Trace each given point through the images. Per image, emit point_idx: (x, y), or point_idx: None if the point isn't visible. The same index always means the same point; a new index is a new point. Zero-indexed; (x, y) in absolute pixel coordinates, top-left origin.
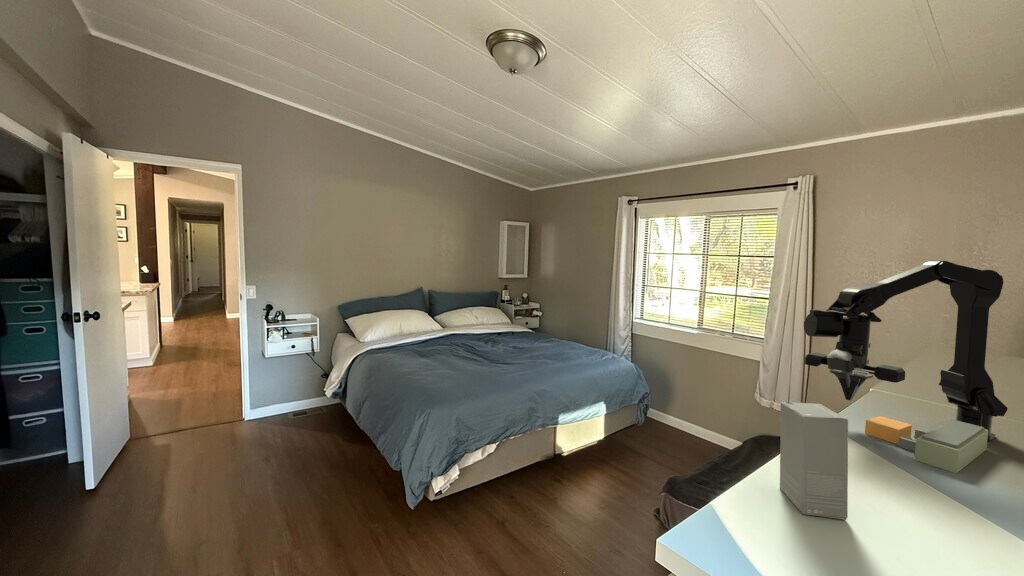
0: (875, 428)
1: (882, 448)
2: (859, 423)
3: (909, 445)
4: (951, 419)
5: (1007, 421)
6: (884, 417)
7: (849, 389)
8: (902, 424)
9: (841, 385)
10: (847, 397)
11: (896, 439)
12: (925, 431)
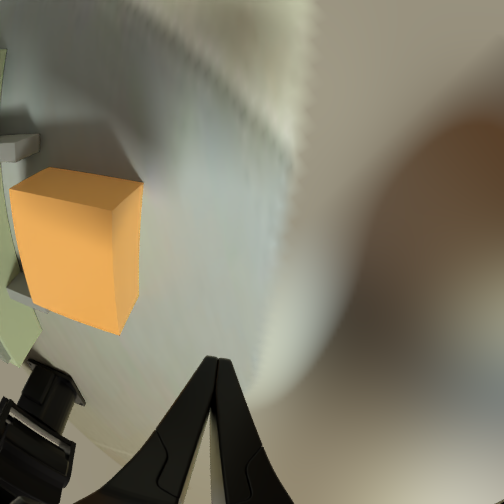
0: (88, 191)
1: (66, 47)
2: (197, 307)
3: (9, 138)
4: (5, 361)
5: (90, 437)
6: (100, 326)
7: (196, 427)
8: (38, 282)
9: (262, 453)
10: (219, 370)
11: (42, 173)
12: (29, 303)
